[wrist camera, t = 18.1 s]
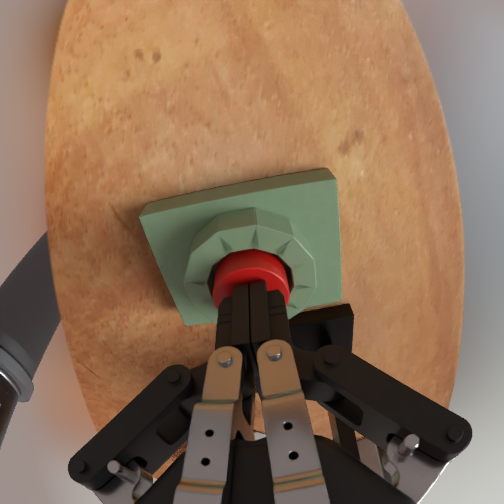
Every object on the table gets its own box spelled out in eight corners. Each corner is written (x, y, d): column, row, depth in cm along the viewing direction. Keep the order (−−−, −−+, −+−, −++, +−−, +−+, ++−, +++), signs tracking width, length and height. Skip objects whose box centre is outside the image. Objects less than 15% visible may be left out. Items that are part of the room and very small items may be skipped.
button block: (188, 308, 21) (181, 348, 18) (146, 203, 16) (127, 234, 13) (335, 284, 20) (349, 322, 17) (328, 167, 16) (348, 193, 13)
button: (224, 306, 17) (223, 329, 16) (206, 253, 15) (203, 275, 14) (289, 296, 17) (293, 319, 15) (280, 240, 15) (284, 261, 13)
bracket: (345, 378, 26) (374, 504, 16) (261, 393, 27) (268, 522, 16) (349, 303, 21) (405, 476, 10) (237, 322, 22) (238, 505, 11)
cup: (360, 456, 42) (372, 516, 32) (336, 449, 38) (347, 519, 28) (408, 436, 39) (425, 497, 29) (390, 426, 35) (409, 499, 25)
